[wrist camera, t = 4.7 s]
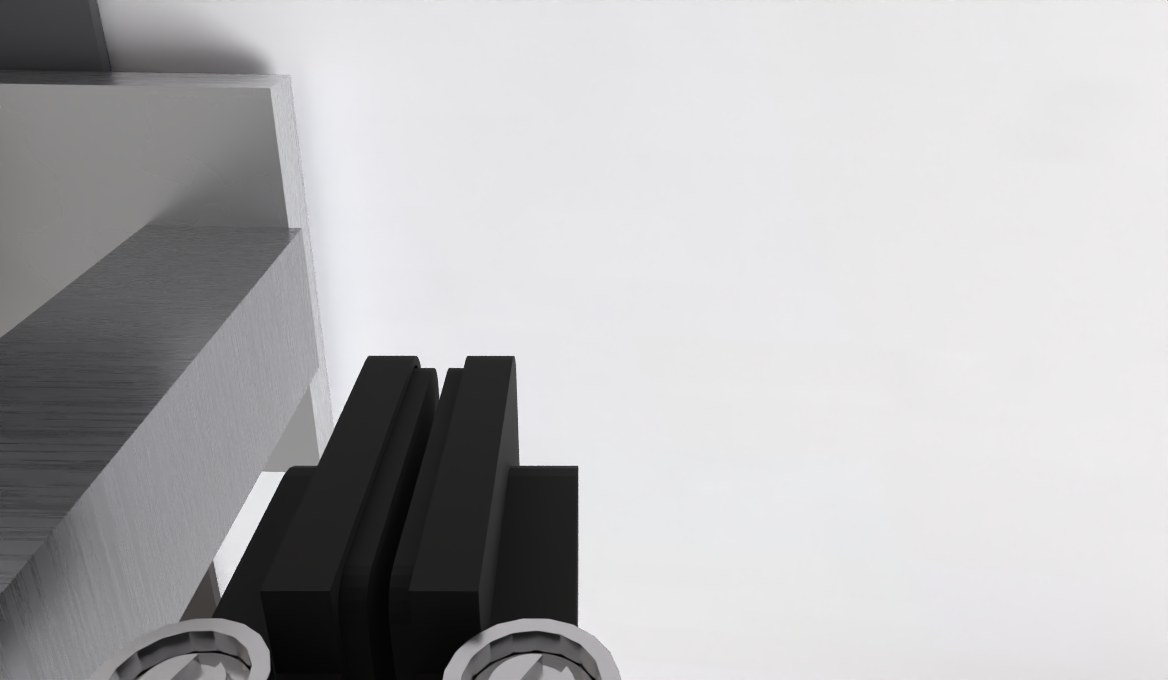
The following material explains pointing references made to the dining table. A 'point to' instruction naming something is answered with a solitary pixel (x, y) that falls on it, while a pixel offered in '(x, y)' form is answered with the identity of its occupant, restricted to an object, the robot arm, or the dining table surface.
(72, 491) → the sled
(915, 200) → the dining table surface
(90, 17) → the tunnel
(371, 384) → the robot arm
